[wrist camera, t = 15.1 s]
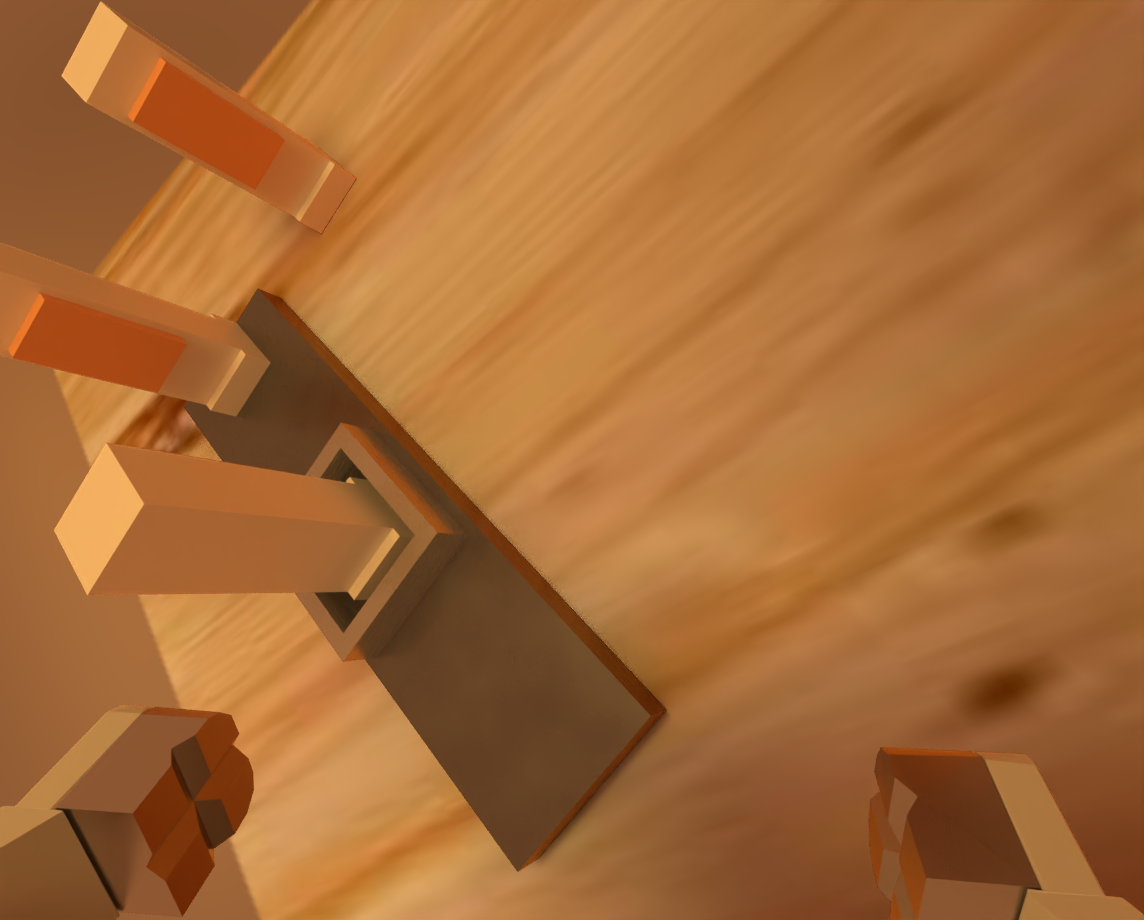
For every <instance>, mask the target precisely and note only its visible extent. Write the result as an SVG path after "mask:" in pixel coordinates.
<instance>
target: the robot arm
mask: <svg viewBox="0 0 1144 920" xmlns="http://www.w3.org/2000/svg"><path fill="white" fill-rule="evenodd" d="M238 735H239V732H238V730H237V727H236V725H235V723H234V720H233V718H232V716H231V715H229V714H225V713H220V712H210V711H198V710H186V709H174V708H161V707H142V706H129V705H121V706H119V707H116V708H114V709H112V710H110V711H107V712H106V713H105V714H104V715H103V717H102V718H101V719H100V720H99V721H98V722H97V723H96V724H95V725H94V726H93V727H92V728H91V729H90V730H89V731H88V732H87V733H86V734H85V735H84V736H83V737H82V738H81V739H80V740H79V741H78V742H77V743H76V744H75V745H74V746H73V747H72V748H71V749H70V750H69V751H68V752H67V753H66V754H65V756H64V757H63V758H62V759H61V760H60V761H59V762H58V763H57V764H56V765H55V766H54V767H53V768H52V769H51V770H50V771H49V772H48V773H47V774H46V775H45V776H44V777H43V778H42V779H41V780H40V781H39V782H38V783H37V784H36V785H35V786H34V787H33V788H32V789H31V790H30V791H29V793H27V795H26V796H25V797H24V798H23V799H22V800H21V801H20V802H19V803H18V804H17V805H16V806H3V807H1V808H0V920H116V919H117V918H119V913H118V912H121V913H136V914H149V915H163V916H177V917H183V915H184V914H185V912H186V911H187V909H188V907H189V906H190V904H191V903H192V901H193V899H194V898H195V896H196V895H197V893H198V892H199V890H200V888H201V887H202V885H203V884H204V882H205V880H206V879H207V877H208V876H209V874H210V873H211V871H212V869H213V868H214V866H215V863H214V862H215V861H214V848H216V847H217V846H218V845H220V844H221V843H223V842H224V841H225V840H227V839H228V838H230V837H231V836H232V835H234V834H235V833H236V831H237V829H238V828H239V826H240V824H241V823H242V821H243V819H244V818H245V816H246V814H247V812H248V808H249V805H250V801H251V798H252V794H253V791H254V781H253V770H252V767H251V764H250V762H249V759H248V758H247V757H246V756H245V755H244V754H243V753H242V752H241V751H239V750H238V749H237V748H236V747H235V746H234V743H235V741H236V739H237V737H238ZM874 772H875V775H876V779H877V783H878V786H879V790H880V792H879V793H877V794H876V795H875V796H874V797H873V798H871V800H870V810H869V820H868V821H869V846H870V852H871V858H872V865H873V869H874V874H875V878H876V882H877V887H878V889H879V890H880V891H881V892H882V893H883V894H884V895H885V896H886V897H887V898H888V899H889V900H890V902H891V909H890V915H889V920H1144V914H1143V913H1141V912H1140V911H1139V910H1138V909H1136V908H1135V907H1134V906H1133V905H1131V904H1130V903H1129V902H1128V901H1127V900H1125V899H1124V898H1122V897H1114V896H1106V895H1105V893H1104V891H1103V889H1102V887H1101V885H1100V884H1099V882H1098V880H1097V878H1096V876H1095V874H1094V872H1093V870H1092V869H1091V867H1090V865H1089V863H1088V861H1087V859H1086V857H1085V856H1084V854H1083V852H1082V850H1081V848H1080V846H1079V844H1078V842H1077V841H1076V839H1075V837H1074V835H1073V833H1072V831H1071V829H1070V828H1069V826H1068V824H1067V822H1066V820H1065V818H1064V816H1063V814H1062V813H1061V811H1060V809H1059V807H1058V805H1057V803H1056V801H1055V800H1054V798H1053V796H1052V794H1051V792H1050V790H1049V788H1048V786H1047V785H1046V783H1045V781H1044V779H1043V777H1042V775H1041V773H1040V772H1039V770H1038V768H1037V766H1036V764H1035V762H1034V761H1033V760H1032V759H1031V758H1029V757H1028V756H1027V755H1026V754H1017V753H995V752H975V753H973V752H971V751H956V750H933V749H910V748H887V747H881V748H880V750H879V752H878V754H877V758H876V764H875V771H874Z"/></svg>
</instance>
